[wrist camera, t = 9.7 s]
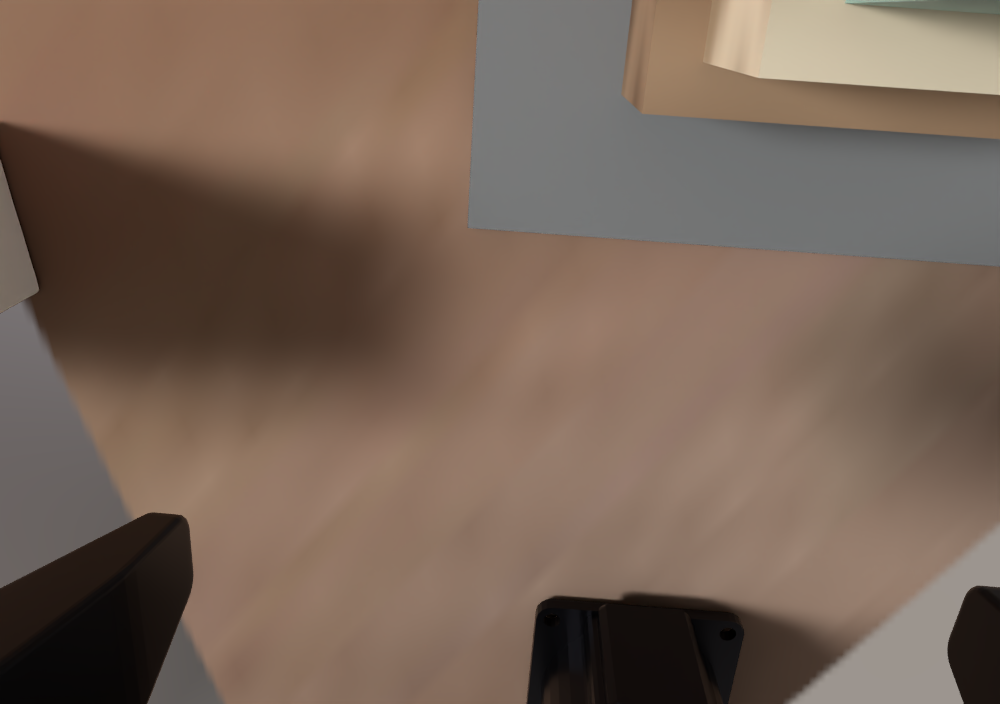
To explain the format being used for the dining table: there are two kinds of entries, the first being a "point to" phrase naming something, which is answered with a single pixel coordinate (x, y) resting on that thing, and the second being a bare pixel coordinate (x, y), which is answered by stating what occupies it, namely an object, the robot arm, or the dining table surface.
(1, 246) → the ink cartridge box
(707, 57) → the birch block
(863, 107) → the walnut slab
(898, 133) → the slate mat
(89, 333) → the dining table surface
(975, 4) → the sage cube
